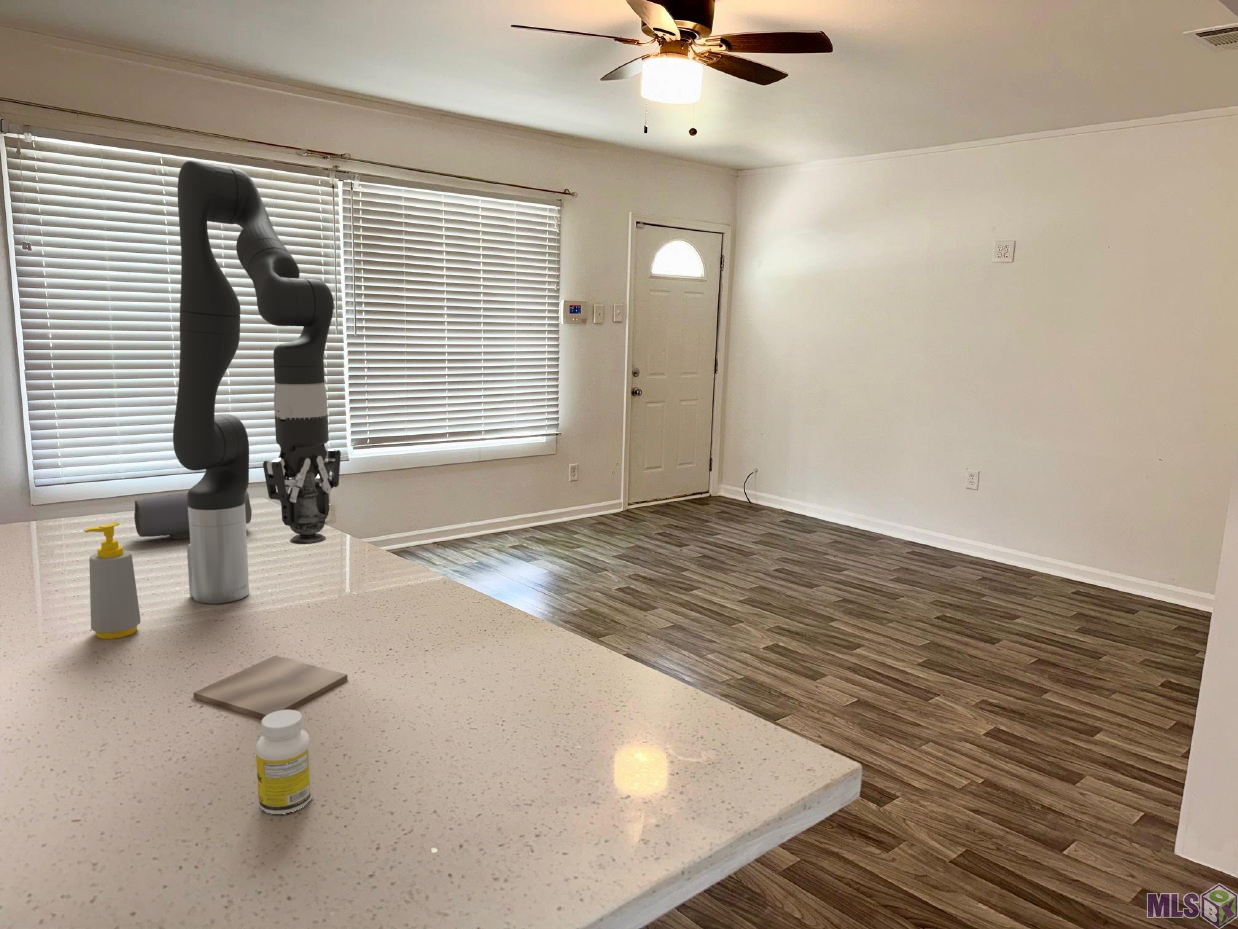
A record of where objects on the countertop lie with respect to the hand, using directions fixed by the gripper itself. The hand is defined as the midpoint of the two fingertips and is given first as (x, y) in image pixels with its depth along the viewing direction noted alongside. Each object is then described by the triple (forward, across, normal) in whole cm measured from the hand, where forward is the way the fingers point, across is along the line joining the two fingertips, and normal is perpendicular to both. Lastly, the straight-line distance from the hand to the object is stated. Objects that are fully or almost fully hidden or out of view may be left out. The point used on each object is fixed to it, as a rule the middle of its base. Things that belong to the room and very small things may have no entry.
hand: (306, 520), depth 126 cm
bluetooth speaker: (+19, -36, -68) cm, 79 cm away
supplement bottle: (+21, +34, +28) cm, 49 cm away
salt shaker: (+3, 0, 0) cm, 3 cm away
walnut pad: (+20, +15, +7) cm, 26 cm away
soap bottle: (+20, +11, -30) cm, 38 cm away
